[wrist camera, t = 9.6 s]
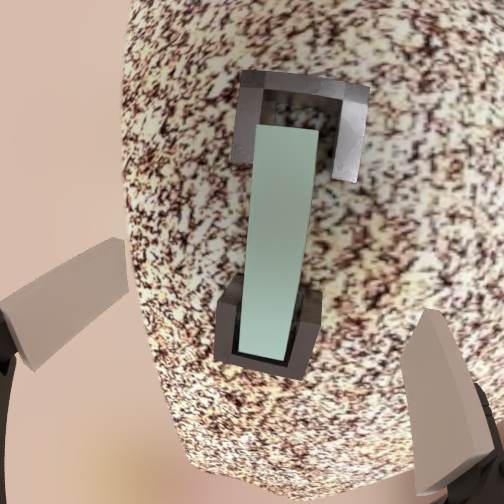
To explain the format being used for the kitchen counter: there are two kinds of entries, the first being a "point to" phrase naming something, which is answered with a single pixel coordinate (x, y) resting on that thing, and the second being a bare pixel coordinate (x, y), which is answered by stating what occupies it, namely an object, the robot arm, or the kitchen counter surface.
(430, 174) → the kitchen counter surface
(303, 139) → the pale green rectangular block
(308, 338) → the cap
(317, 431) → the kitchen counter surface
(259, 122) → the cap
